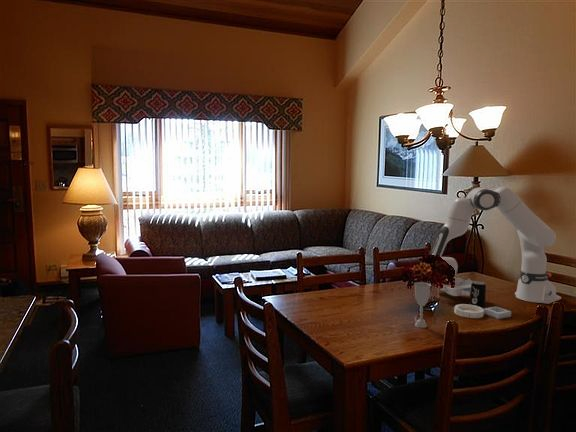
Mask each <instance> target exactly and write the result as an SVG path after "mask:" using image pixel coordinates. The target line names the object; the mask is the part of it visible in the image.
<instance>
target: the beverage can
mask: <svg viewBox="0 0 576 432" xmlns="http://www.w3.org/2000/svg"><path fill="white" fill-rule="evenodd" d="M472 281H473V282H472V284H471V296H470V302H469V304H470V305H475V306H479V307H481V308H483V309H484V308H486V294H487V286H486V282H484V281H481V280H472Z"/></svg>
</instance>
